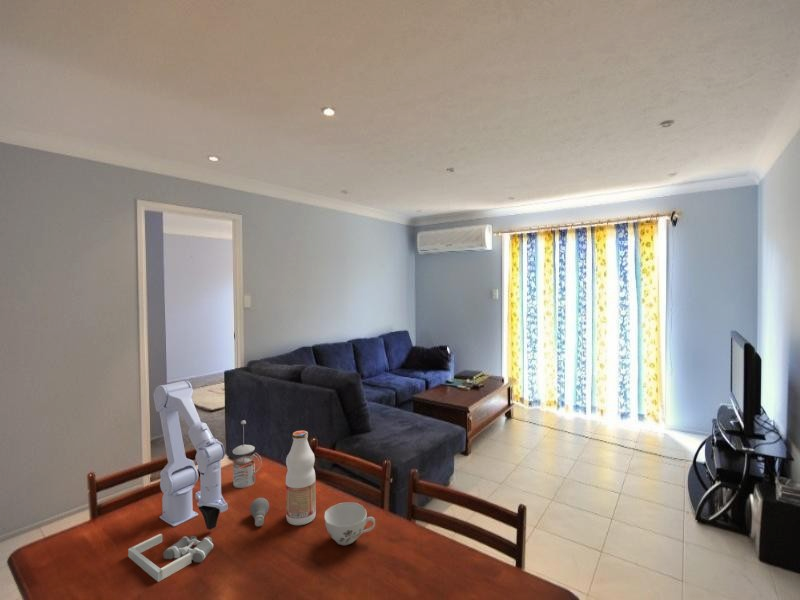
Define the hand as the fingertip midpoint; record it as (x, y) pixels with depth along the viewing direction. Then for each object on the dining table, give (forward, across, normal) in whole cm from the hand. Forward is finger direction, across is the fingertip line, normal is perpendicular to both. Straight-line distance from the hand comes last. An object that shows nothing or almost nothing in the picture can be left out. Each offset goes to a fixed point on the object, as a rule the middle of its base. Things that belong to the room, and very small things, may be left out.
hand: (211, 527), depth 121 cm
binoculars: (+2, +4, -8) cm, 9 cm away
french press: (+2, -18, +24) cm, 31 cm away
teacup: (+2, +38, +21) cm, 43 cm away
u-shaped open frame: (+2, 0, -12) cm, 12 cm away
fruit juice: (+2, +17, +21) cm, 27 cm away
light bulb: (0, +10, +10) cm, 14 cm away
